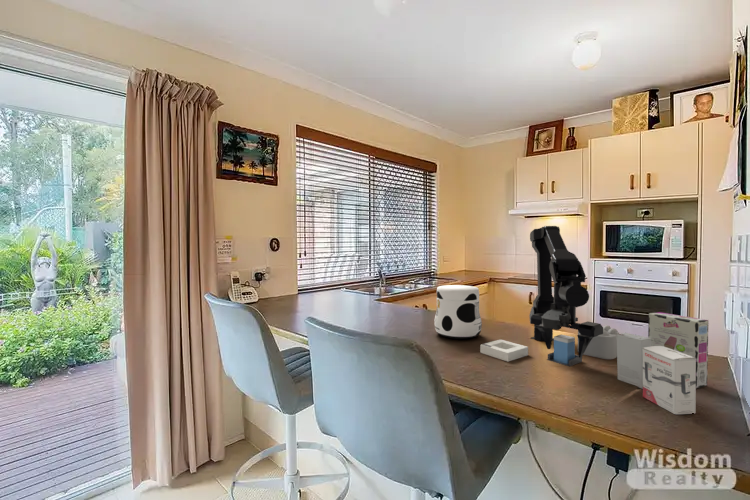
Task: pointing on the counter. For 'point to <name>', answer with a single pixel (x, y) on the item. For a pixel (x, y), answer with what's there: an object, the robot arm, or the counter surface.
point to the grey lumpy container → (603, 344)
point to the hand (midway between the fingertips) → (564, 353)
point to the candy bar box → (682, 338)
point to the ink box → (669, 379)
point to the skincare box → (631, 358)
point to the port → (504, 350)
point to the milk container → (458, 312)
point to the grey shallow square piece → (571, 362)
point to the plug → (564, 348)
